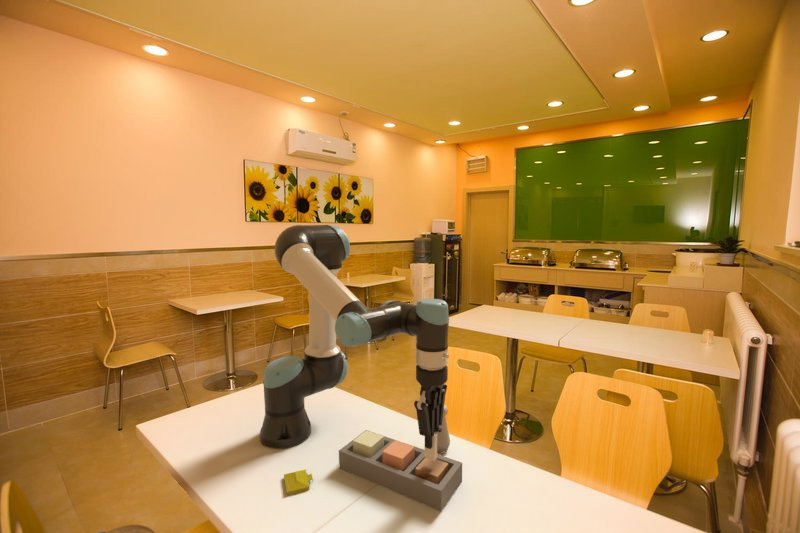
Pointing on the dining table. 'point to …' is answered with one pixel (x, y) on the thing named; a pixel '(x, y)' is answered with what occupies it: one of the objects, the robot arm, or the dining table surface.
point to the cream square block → (368, 444)
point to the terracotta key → (398, 455)
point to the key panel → (403, 475)
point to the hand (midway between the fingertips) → (430, 457)
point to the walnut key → (432, 470)
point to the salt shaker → (443, 434)
